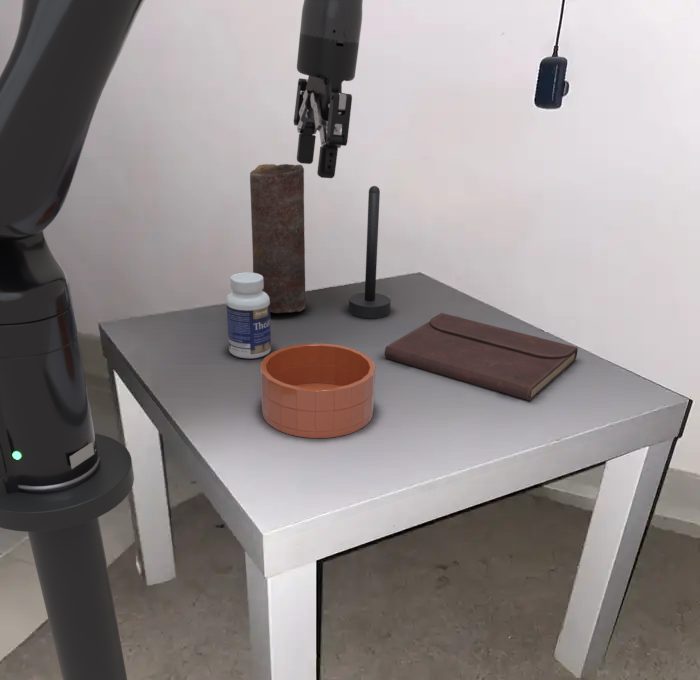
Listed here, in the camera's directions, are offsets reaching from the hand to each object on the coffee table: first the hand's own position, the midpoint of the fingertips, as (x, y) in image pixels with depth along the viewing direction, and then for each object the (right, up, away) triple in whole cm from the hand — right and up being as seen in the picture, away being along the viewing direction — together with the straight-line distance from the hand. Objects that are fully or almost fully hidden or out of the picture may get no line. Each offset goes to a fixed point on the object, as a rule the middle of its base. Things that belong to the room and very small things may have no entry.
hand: (314, 170), depth 105 cm
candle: (-5, -18, +7) cm, 20 cm away
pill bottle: (-8, -26, -6) cm, 28 cm away
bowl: (+1, -34, -20) cm, 39 cm away
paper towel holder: (+8, -18, +8) cm, 21 cm away
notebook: (+21, -27, -6) cm, 35 cm away
